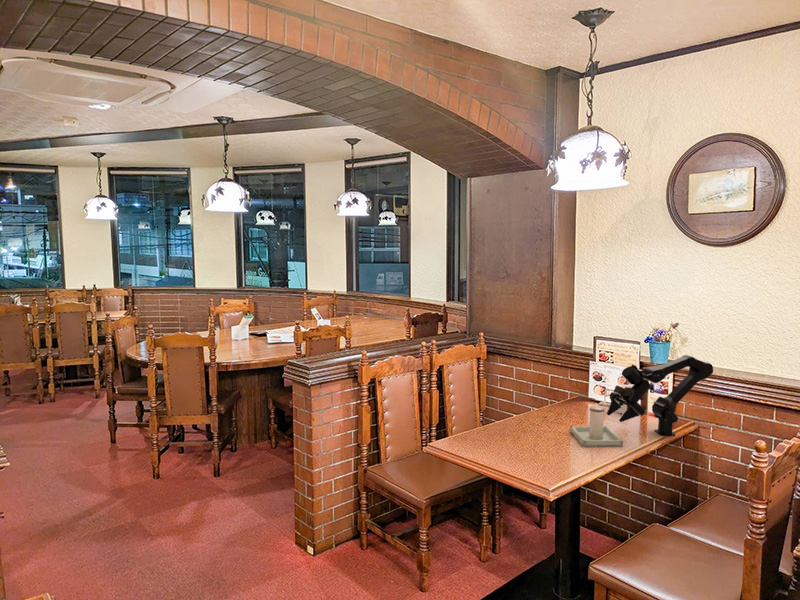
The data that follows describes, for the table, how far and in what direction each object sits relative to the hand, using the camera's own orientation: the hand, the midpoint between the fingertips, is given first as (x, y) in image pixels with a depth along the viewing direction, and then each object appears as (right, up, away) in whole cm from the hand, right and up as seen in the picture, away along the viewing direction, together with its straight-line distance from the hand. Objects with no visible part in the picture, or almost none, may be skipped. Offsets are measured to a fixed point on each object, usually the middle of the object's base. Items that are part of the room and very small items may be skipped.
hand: (613, 418), depth 241 cm
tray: (-8, -9, -1) cm, 12 cm away
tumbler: (-8, -8, -1) cm, 11 cm away
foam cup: (+19, -5, +36) cm, 41 cm away
